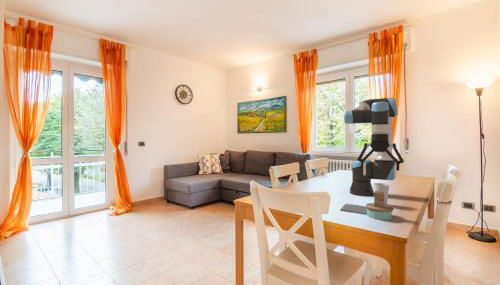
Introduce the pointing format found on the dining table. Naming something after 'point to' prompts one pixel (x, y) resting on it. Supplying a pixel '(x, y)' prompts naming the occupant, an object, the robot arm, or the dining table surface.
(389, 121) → the robot arm
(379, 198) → the lid
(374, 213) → the bowl
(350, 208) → the mat
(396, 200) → the dining table surface
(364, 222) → the dining table surface
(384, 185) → the cup
